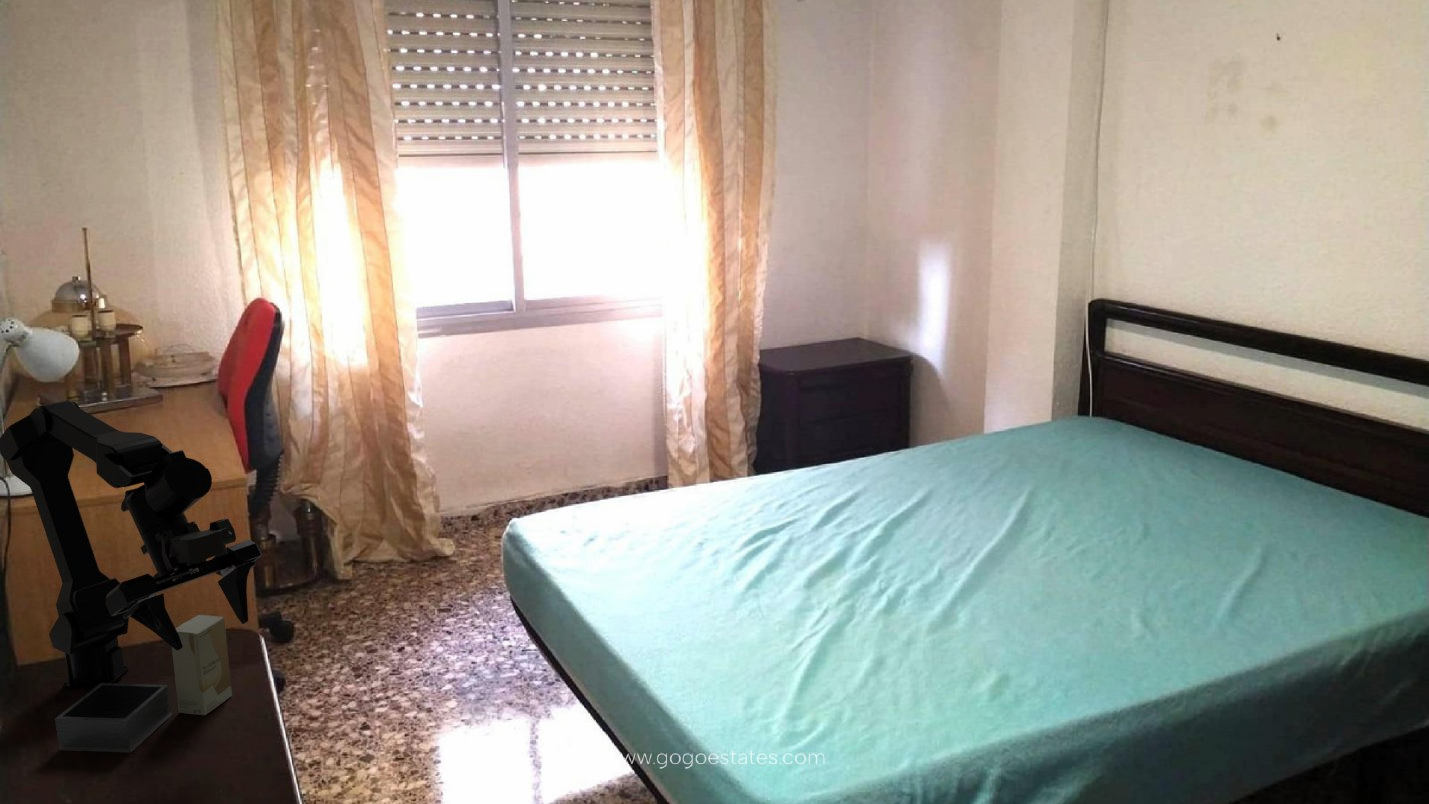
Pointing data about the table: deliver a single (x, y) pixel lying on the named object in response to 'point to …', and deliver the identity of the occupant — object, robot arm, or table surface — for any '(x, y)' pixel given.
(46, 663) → the table surface
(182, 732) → the table surface
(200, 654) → the skincare box
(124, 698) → the grey open tray
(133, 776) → the table surface
